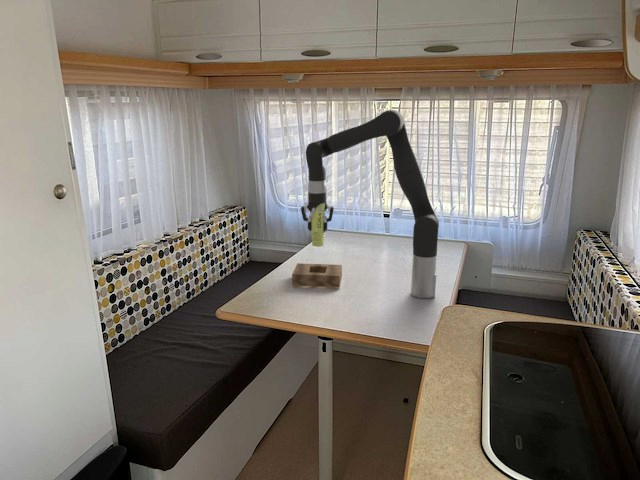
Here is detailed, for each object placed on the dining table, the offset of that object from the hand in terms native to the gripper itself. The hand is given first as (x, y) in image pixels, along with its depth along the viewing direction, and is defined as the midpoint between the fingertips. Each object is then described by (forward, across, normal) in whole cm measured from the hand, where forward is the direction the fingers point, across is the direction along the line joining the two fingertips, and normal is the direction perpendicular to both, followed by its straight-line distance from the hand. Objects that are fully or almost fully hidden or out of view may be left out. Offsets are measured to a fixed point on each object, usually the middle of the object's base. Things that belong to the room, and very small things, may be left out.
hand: (317, 230), depth 201 cm
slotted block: (+23, 0, 0) cm, 23 cm away
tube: (+7, 0, 0) cm, 7 cm away
